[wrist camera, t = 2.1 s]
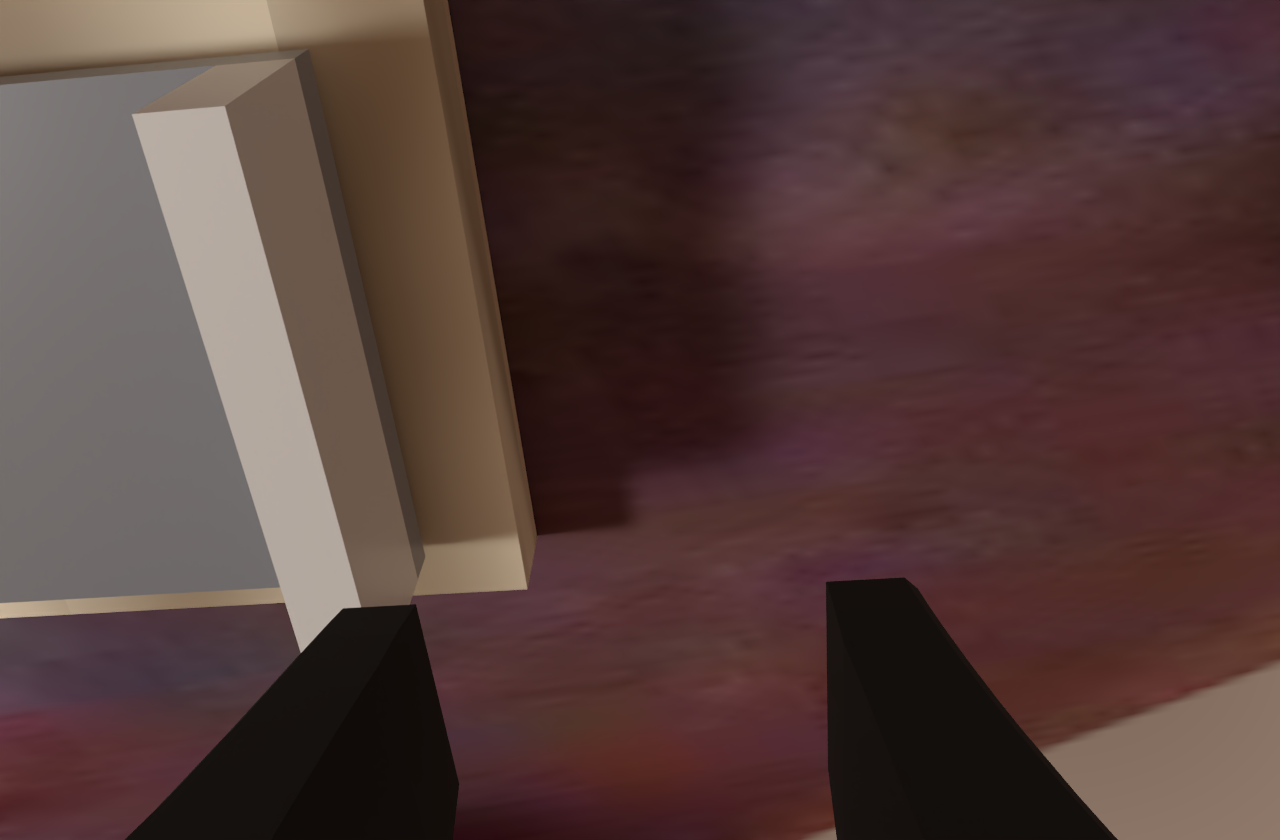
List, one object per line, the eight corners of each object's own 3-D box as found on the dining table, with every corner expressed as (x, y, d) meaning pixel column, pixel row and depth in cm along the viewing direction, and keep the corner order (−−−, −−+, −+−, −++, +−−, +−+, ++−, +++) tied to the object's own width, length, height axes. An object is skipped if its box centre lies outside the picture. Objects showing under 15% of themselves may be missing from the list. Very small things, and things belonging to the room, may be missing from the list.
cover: (308, 48, 14) (224, 106, 11) (425, 557, 18) (382, 686, 15) (-210, 95, 15) (-405, 160, 12) (13, 580, 18) (-96, 710, 16)
